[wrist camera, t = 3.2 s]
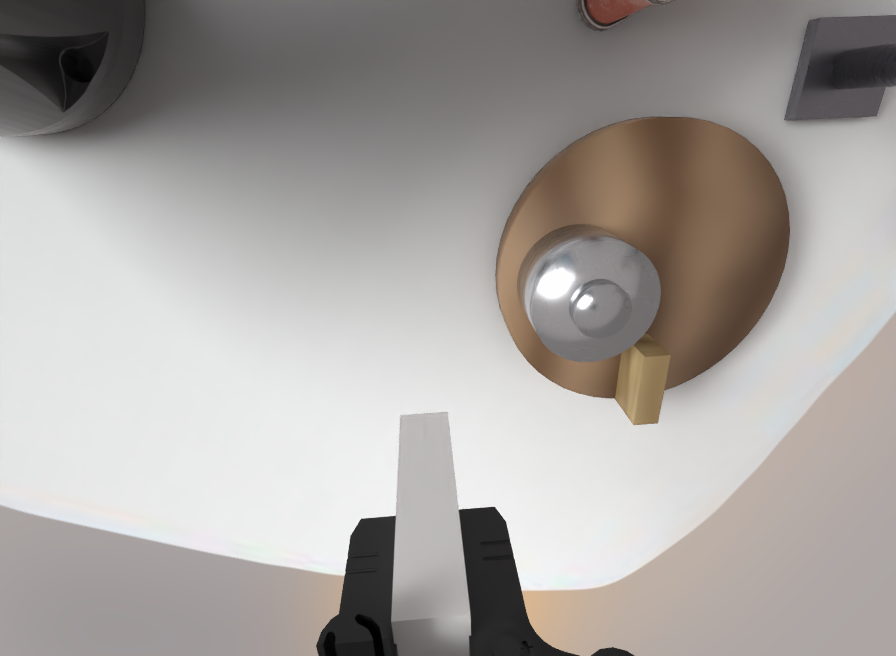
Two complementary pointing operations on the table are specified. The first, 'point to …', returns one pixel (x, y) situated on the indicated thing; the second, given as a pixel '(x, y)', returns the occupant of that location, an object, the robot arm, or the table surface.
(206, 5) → the table surface
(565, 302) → the cover
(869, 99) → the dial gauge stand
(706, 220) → the turntable
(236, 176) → the table surface
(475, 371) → the table surface
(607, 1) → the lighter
